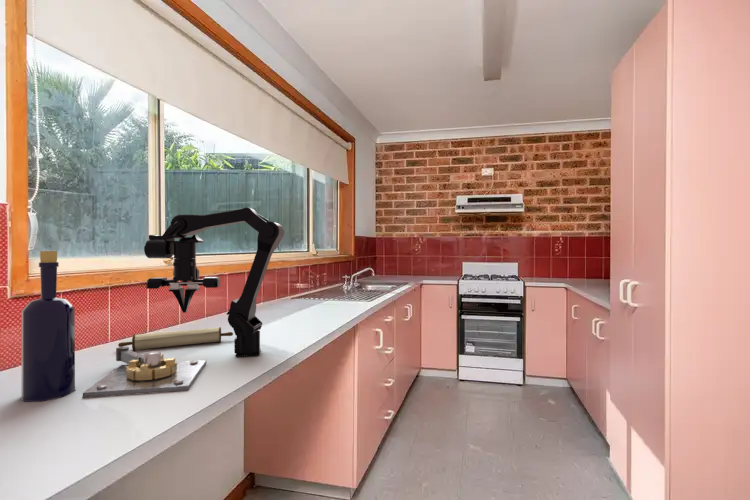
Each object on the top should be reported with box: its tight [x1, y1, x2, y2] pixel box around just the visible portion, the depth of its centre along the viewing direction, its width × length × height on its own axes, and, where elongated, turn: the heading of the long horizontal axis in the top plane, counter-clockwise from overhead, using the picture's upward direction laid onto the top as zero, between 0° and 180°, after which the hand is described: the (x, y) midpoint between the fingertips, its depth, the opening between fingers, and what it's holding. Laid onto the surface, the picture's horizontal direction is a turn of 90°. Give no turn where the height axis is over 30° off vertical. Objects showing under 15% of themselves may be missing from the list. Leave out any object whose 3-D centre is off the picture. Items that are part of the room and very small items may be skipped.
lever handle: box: [115, 346, 178, 380], centre depth 97 cm, size 10×22×4 cm, turn 54°
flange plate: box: [82, 350, 207, 399], centre depth 93 cm, size 20×20×6 cm
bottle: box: [20, 250, 77, 403], centre depth 83 cm, size 9×9×30 cm
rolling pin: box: [118, 327, 234, 352], centre depth 124 cm, size 32×6×5 cm, turn 117°
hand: (184, 312), depth 115 cm, fingers closed
